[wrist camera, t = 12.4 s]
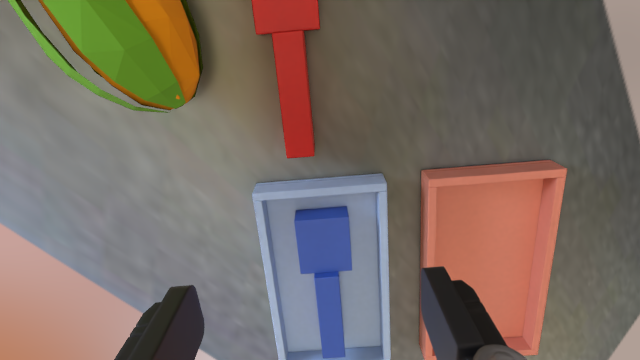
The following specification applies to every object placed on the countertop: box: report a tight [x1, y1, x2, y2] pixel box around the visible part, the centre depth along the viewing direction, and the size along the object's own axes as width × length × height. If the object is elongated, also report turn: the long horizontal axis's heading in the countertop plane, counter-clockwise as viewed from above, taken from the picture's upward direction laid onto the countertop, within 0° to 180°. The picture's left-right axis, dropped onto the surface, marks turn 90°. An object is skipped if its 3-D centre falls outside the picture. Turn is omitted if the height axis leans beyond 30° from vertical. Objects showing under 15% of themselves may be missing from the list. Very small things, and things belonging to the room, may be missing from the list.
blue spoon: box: [294, 206, 352, 359], centre depth 29 cm, size 12×4×2 cm, turn 5°
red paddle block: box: [251, 0, 320, 158], centre depth 23 cm, size 12×4×2 cm, turn 5°
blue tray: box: [252, 173, 391, 360], centre depth 29 cm, size 16×9×2 cm, turn 5°
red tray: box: [419, 160, 567, 360], centre depth 29 cm, size 16×9×2 cm, turn 5°
